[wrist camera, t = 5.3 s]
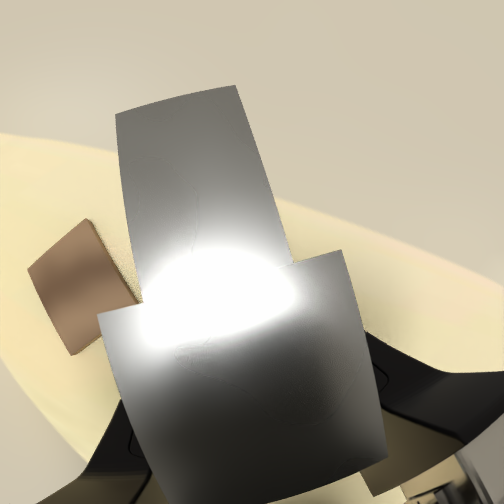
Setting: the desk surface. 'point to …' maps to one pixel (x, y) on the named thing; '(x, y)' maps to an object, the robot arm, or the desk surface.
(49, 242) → the desk surface
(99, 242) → the walnut board
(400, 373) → the robot arm
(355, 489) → the desk surface
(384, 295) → the desk surface
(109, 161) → the desk surface
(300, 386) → the stepped metal bracket
